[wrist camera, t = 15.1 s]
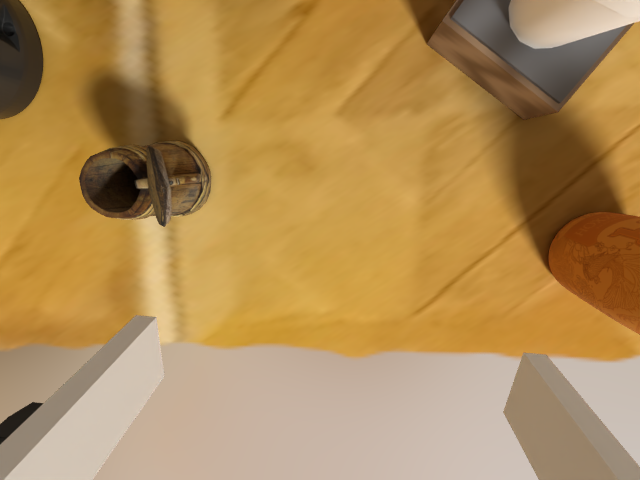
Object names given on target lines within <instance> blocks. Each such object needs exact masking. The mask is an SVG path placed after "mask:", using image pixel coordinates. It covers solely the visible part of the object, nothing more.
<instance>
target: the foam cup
mask: <svg viewBox="0 0 640 480" xmlns="http://www.w3.org/2000/svg"><path fill="white" fill-rule="evenodd" d="M508 10H509V21H510V27H511V29H512V31H513V32H514V34H515V35H516V37H517V38H518V40H519V41H520V42H522V43H524V44H526V45H528V46H530V47H532V48H534V49H539V48H553V47H558V46H561V45H564V44H567V43H570V42H574V41H577V40H580V39H583V38H587V37H590V36H593V35H596V34H599V33H603V32H606V31H609V30H612V29H616V28H619V27H622V26H625V25H628V24H632V23H635V22H638V21H640V0H511V2H510V5H509V8H508Z"/></svg>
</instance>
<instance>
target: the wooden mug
mask: <svg viewBox="0 0 640 480" xmlns="http://www.w3.org/2000/svg"><path fill="white" fill-rule="evenodd" d="M79 180H80V186H81V190H82V194H83V197H84V198H85V200H86V202H87V203H88V205H89V206H90V207H91V208H92V209H94V210H95V211H97V212H98V213H100V214H102V215H104V216H106V217H111V218H118V219H123V220H133V219H143V218H147V217H149V216H156V218H157V220H158V222H159V224H160V225H162V226H164V227H165V225H166V224H167V223H168V222H169V221H170V219H171V217H178V216H185V215H188V214H192V213H194V212H195V211H197V210H199V209H200V208H201V207H202V206H203V205H204V204H205V203H206V201H207V199H208V196H209V193H210V188H211V174H210V170H209V168H208V166H207V164H206V162H205V160H204V159H203V157H202V156H201V155H200V153H199V152H198V151H197V150H196V149H195V148H194V147H193V146H191V145H188V144H186V143H183V142H181V141H164V142H156V143H154V144H152V145H149V146H143V147H140V146H138V145H126V146H120V147H115V148H109V149H107V150H105V151H102V152H100V153H98V154H95V155H93V156H90V158H89V159H88V160H87V161H86V162H85V164H84V166H83V168H82V170H81V174H80V177H79Z"/></svg>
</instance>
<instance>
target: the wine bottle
mask: <svg viewBox="0 0 640 480" xmlns="http://www.w3.org/2000/svg"><path fill="white" fill-rule="evenodd" d="M548 260H549V267H550V270H551V272H552V274H553V276H554V277H555V278H556V280H557V281H558V282H559V283H560V284H561V285H562V286H564V287H565V288H566V289H568V290H569V291H570V292H572V293H573V294H575V295H576V296H578V297H579V298H581V299H582V300H584V301H585V302H587V303H588V304H590V305H592V306H593V307H595V308H596V309H598V310H599V311H601V312H602V313H604V314H606V315H607V316H609V317H610V318H612V319H614V320H615V321H617V322H619V323H620V324H622V325H624V326H625V327H627V328H629V329H631V330H632V331H634V332H636V333H638V334H640V217H638V216H632V215H626V214H619V213H611V212H596V213H589V214H585V215H582V216H580V217H577V218H575V219H573V220H572V221H570V222H569V223H567V224H566V225H565V226H564V227H563V228H562V229H561V230H560V231H559V232H558V233H557V235H556V236H555V238H554V239H553V241H552V243H551V246H550V249H549V256H548Z"/></svg>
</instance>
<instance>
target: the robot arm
mask: <svg viewBox="0 0 640 480" xmlns="http://www.w3.org/2000/svg"><path fill="white" fill-rule="evenodd" d="M42 72H43V55H42V48H41V43H40V39H39V36H38V33H37V30H36V28H35V26H34V23H33V21H32V20H31V18H30V16H29V14H28V13H27V11H26V10H25V8H24V7H23V6H22V4H21V3H20V2H19V1H18V0H0V119H5V118H9V117H12V116H14V115H16V114H18V113H20V112H21V111H23V110H24V109H25V108H26V107H27V106H28V105H29V104H30V103H31V102H32V100H33V99H34V97H35V95H36V93H37V91H38V89H39V86H40V83H41V78H42ZM163 378H164V371H163V363H162V356H161V348H160V341H159V333H158V326H157V319H156V317H148V316H138V315H136V316H135V317H134V318H133V319H132V320H131V321H130V322H129V323H127V324H126V325H125V326H124V327H123V328H122V329H121V330H120V331H119V332H118V333H117V334H116V335H115V336H114V337H113V338H112V339H111V340H110V341H109V342H108V343H107V344H105V345H104V346H103V347H102V348H101V349H100V350H99V351H98V352H97V353H96V354H95V355H94V356H93V357H92V358H91V359H90V360H89V361H88V362H87V363H86V364H84V366H82V367H81V368H80V369H79V370H78V371H77V372H76V373H75V374H74V375H73V376H72V377H71V378H70V379H69V380H68V381H67V382H66V383H65V384H63V386H61V387H60V388H59V389H58V390H57V391H56V392H55V393H54V394H53V395H52V396H51V397H50V398H49V399H48V400H47V401H46V402H45V403H35V402H32V403H31V404H29V405H28V406H26V407H24V408H22V409H21V410H19V411H17V412H16V413H14V414H13V415H11V416H9V417H8V418H7V419H6V420H5V421H4V422H2V423H1V424H0V480H93V478H94V477H95V475H96V474H97V472H98V471H99V470H100V468H101V467H102V465H103V464H104V462H105V461H106V460H107V458H108V457H109V455H110V454H111V452H112V451H113V449H114V448H115V446H116V445H117V444H118V442H119V441H120V439H121V438H122V437H123V435H124V434H125V432H126V431H127V429H128V428H129V427H130V425H131V424H132V422H133V421H134V419H135V418H136V416H137V415H138V414H139V412H140V411H141V409H142V408H143V406H144V405H145V404H146V402H147V401H148V399H149V398H150V396H151V395H152V393H153V392H154V391H155V389H156V388H157V386H158V385H159V383H160V382H161V381H162V379H163ZM503 412H504V414H505V416H506V418H507V420H508V422H509V424H510V425H511V428H512V430H513V431H514V433H515V435H516V437H517V439H518V441H519V443H520V445H521V446H522V448H523V450H524V452H525V454H526V456H527V458H528V460H529V462H530V464H531V466H532V467H533V469H534V471H535V473H536V475H537V477H538V479H539V480H640V467H639V466H638V464H637V463H636V462H635V461H634V460H633V458H632V457H631V456H630V455H629V454H628V452H627V451H626V450H625V449H624V448H623V446H622V445H621V444H620V443H619V442H618V440H617V439H616V438H615V437H614V436H613V434H612V433H611V432H610V431H609V430H608V428H607V427H606V426H605V425H604V424H603V423H602V421H601V420H600V419H599V418H598V416H597V415H596V414H595V413H594V412H593V410H592V409H591V408H590V407H589V406H588V404H587V403H586V402H585V401H584V400H583V398H582V397H581V396H580V395H579V394H578V392H577V391H576V390H575V389H574V388H573V387H572V385H571V384H570V383H569V382H568V381H567V379H566V378H565V377H564V376H563V374H562V373H561V372H560V371H559V370H558V368H557V367H556V366H555V365H554V364H553V362H552V361H551V360H550V359H549V358H548V356H547V355H543V354H533V353H523V356H522V359H521V362H520V365H519V368H518V370H517V373H516V376H515V379H514V382H513V386H512V388H511V391H510V394H509V397H508V400H507V403H506V406H505V409H504V411H503Z"/></svg>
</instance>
